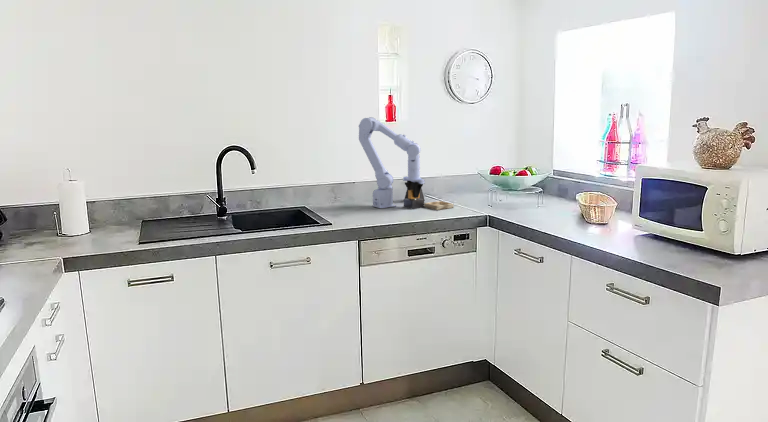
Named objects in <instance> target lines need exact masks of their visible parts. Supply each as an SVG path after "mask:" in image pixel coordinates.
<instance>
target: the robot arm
mask: <svg viewBox="0 0 768 422" xmlns="http://www.w3.org/2000/svg"><path fill="white" fill-rule="evenodd" d="M374 131H375V132H380V133H382V134H384V135H385V136H386V137H388V138H390V139H391V140H393V143H394V145H395V146H397V147H398V148H400V149H401V150H402V151H404V152H406V154H407V176H403V177H402V179H403V180H402V181H404V185H405V186H406V190H407V189H408V190H413V192H414V198H418V197H419V193H420V190H421V188H422V187H423V185H425V184H426V183H425V182H426V181H425V180H426V179H423V178H422V177H420V176H421V171H420V169H421V160H420V153H421V151H422V150H421V146H420V145H419V144H418V143H417V142H415V141H414V140H411V139H410V138H408V137H407V135H406V134H402V133H399V134H398V133H396V132H395V131H394V130H392V129H391V128H389V127H388V126H387V125H386V124H384V123H383V122H381V121H380V120H378V119H376V118H374V117H372V116H371V117H370V116H369V117H364V118H362V119H361V120H360V121H359V124H358V140H359V143H360V145H361V147H362V148H363V151H364V153H365V154H366V157H367V159H368V161H369V162H370V165H371V167H372V168H373V170H374V175H375V177H374V178H376V185H377V189H374V190H373V192H372V206H371V207H375V208H378V209H386V208H393V207H397V204H394V202H393V201H394V199H393V198H394V191H393V189H394V188H393V186H392V185H393V183H394V177H393V175H392V174H391V173H389V171H388V170H387V169H386V167H385V166H384V164H383V161H382V160H381V158H380V156H379V153H378V151H377V150H376V148H375V145H374V144H373V142H372V139H371V137H372V134H373V132H374Z"/></svg>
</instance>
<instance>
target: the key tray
mask: <svg viewBox="0 0 768 422" xmlns="http://www.w3.org/2000/svg"><path fill="white" fill-rule="evenodd" d="M454 206H455V205H454V203H451V202H447V201H442V200H437V201H429V202H424V208H426V209H429V210H434V211H441V210H442V211H443V210H449V209H454Z"/></svg>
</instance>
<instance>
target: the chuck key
mask: <svg viewBox="0 0 768 422" xmlns="http://www.w3.org/2000/svg"><path fill="white" fill-rule="evenodd" d="M408 198H409V199H412V200H416V198H414V192H413V190H408ZM418 198H420V193H419V197H418Z"/></svg>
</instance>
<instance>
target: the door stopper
mask: <svg viewBox="0 0 768 422" xmlns="http://www.w3.org/2000/svg"><path fill="white" fill-rule="evenodd" d="M407 198H408V189H407V188H406V192H405V195H404V199H407ZM404 199H403V200H404ZM420 199H424V202H426V201H425V196H424V192H423V189H422V187H421V190H420Z"/></svg>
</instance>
